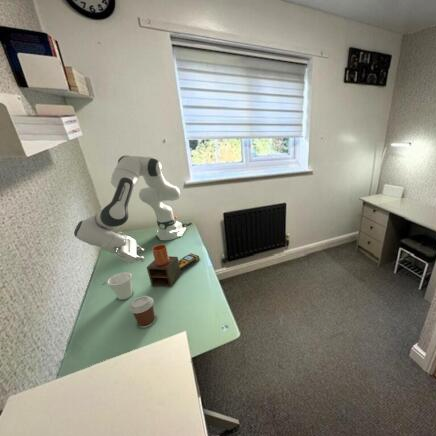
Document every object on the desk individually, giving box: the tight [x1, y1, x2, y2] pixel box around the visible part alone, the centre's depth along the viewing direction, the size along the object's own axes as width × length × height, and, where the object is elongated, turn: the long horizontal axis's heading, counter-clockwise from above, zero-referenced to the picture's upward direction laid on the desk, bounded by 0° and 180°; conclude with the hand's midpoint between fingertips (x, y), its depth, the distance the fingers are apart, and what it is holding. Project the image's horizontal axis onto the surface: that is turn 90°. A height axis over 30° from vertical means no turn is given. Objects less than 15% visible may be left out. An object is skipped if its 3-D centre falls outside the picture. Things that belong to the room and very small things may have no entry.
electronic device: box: [178, 252, 200, 272], centre depth 145 cm, size 8×16×3 cm, turn 154°
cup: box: [106, 271, 133, 300], centre depth 118 cm, size 10×10×11 cm
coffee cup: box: [128, 295, 156, 329], centre depth 103 cm, size 9×9×12 cm
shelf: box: [146, 255, 182, 288], centre depth 130 cm, size 11×11×12 cm
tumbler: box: [151, 243, 169, 265], centre depth 126 cm, size 6×6×9 cm
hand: (143, 255), depth 121 cm, fingers open, 8 cm apart
